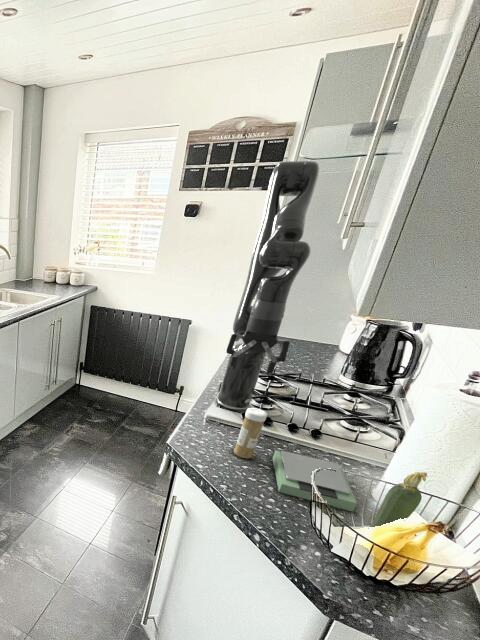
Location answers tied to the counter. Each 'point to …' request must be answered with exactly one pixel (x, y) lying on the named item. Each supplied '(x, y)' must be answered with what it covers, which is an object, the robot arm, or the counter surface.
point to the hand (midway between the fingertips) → (250, 371)
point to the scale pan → (302, 467)
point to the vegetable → (400, 500)
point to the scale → (305, 490)
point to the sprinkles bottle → (250, 432)
